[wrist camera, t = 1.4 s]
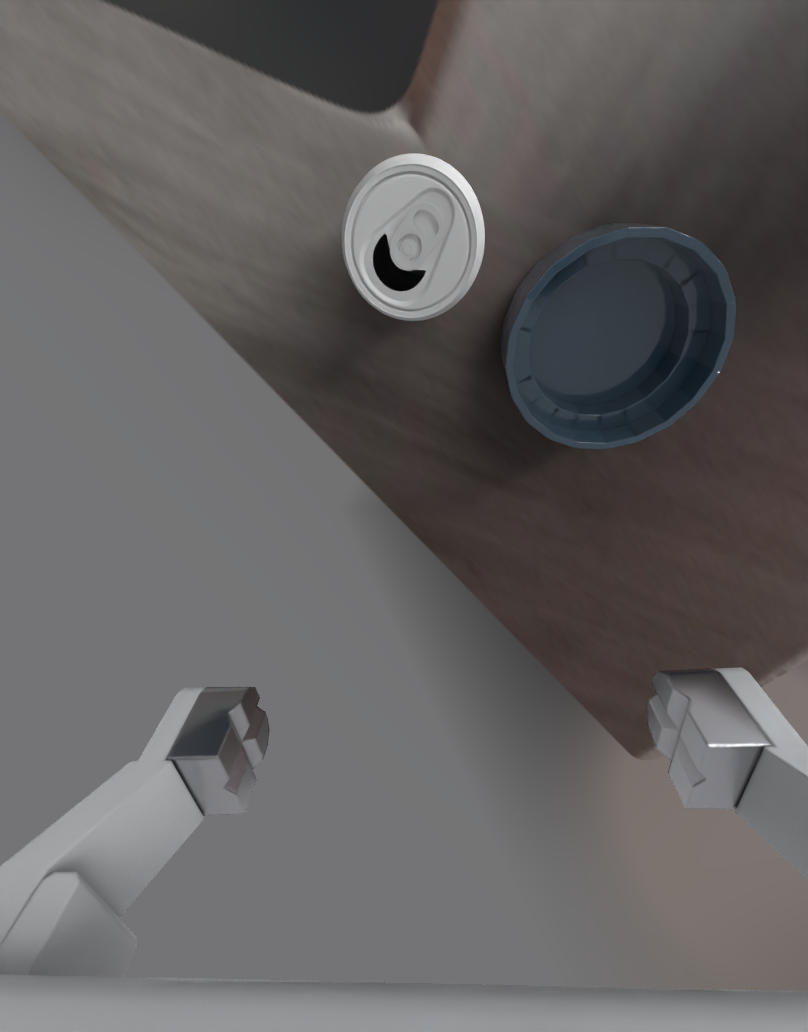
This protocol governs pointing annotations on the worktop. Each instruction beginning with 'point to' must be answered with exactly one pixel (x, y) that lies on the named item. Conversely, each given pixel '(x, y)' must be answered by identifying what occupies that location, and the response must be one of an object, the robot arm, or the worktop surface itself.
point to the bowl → (617, 334)
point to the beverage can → (413, 237)
